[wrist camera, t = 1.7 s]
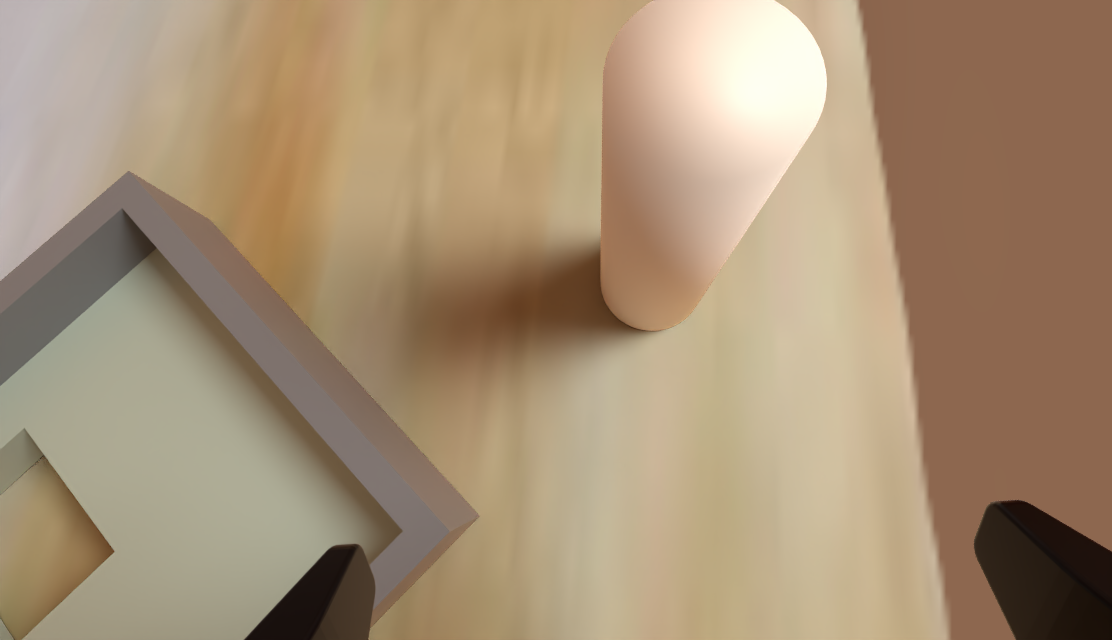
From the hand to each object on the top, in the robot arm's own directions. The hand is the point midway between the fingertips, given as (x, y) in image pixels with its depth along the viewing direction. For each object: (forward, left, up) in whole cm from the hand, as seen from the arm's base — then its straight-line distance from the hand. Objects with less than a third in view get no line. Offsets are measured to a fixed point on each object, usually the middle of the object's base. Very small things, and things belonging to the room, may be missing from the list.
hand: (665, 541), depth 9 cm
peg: (+7, -3, -14) cm, 16 cm away
